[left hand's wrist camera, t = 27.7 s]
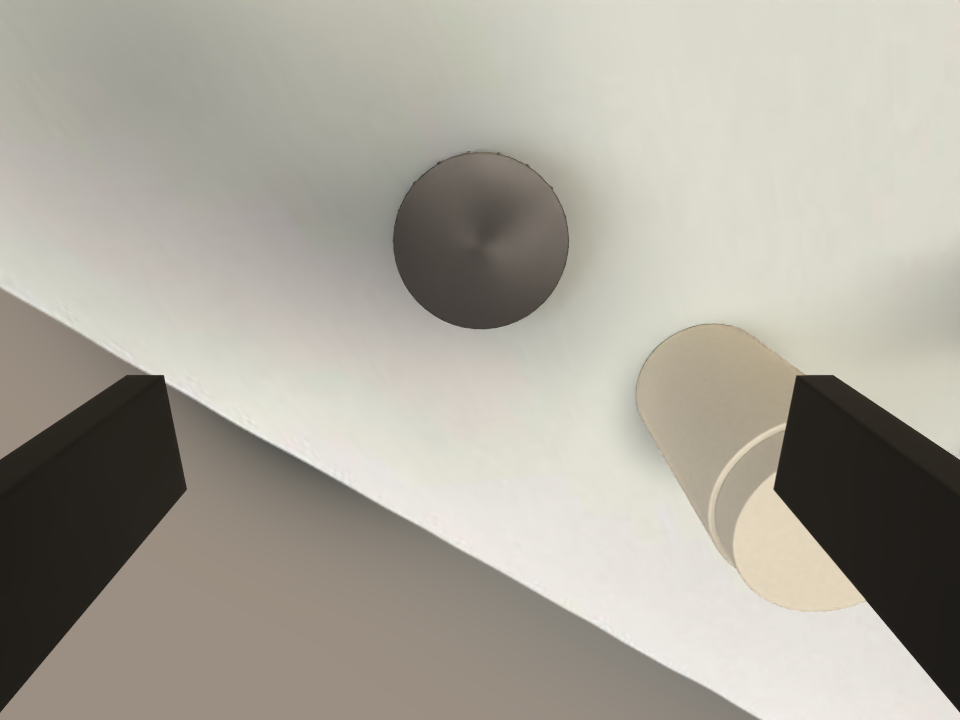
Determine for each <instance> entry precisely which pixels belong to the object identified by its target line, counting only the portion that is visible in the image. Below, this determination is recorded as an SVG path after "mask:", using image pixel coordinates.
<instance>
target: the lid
mask: <svg viewBox="0 0 960 720" xmlns="http://www.w3.org/2000/svg"><path fill="white" fill-rule="evenodd" d="M437 164H438V165H436V166H434V167H433V168H431V169H430V170H429V171H427V172H426V173H425V174H424V175H422V176H421V177H420V178H419V179H418V180H417V181H415V182H414V183H413V186H412V187H411V189H410V190H409V192H408V193H407V194H406V196H405V198H404V200H403V202H402V204H401V206H400V209H399V210H398V214H397V218H396V222H395V227H394V237H393V243H394V254H395V260H396V264H397V267H398V271H399V273H400V276H401V278H402V280H403V282H404V284H405V286H406V287H407V289H408V290H409V292H410V293H411V295H412V296H413V297H414V298H415V300H416V301H417V302H418V303H419V304H420V305H421V306H422V307H424V308H425V309H426V310H427V311H429V312H430V313H431V314H433V315H434V316H436V317H438V318H439V319H441V320H443V321H445V322H448V323H450V324H453V325H456V326H460V327H464V328H471V329H490V328H498V327H502V326H506V325H509V324H511V323H514V322H517V321H519V320H521V319H522V318H524V317H526V316H528V315H529V314H531V313H532V312H533V311H535V310H536V309H537V308H538V307H539V306H541V305H542V304H543V303H544V302H545V301H546V299H547V298H548V297H549V296H550V295H551V293H552V292H553V290H554V289H555V287H556V286H557V284H558V282H559V280H560V278H561V276H562V273H563V270H564V267H565V264H566V260H567V255H568V248H569V246H568V244H569V238H568V227H567V222H566V215H565V214H564V211H563V209H562V206H561V204H560V202H559V200H558V198H557V196H556V195H555V193H554V192H553V190H552V189H553V188H552V187H551V186H549V185H548V184H547V183H546V181H545V180H544V179H543V178H542V177H541V176H540V175H538V174H537V173H536V172H535V171H534V170H532V169H531V168H530V166H529V165H527V164H526V165H525V164H523V163H521V162H519V161H517V160H515V159H513V158H511V157H508V156H504V155H501V153H499V152H498V154H496V153H490V152H473V153H470V152H469V151H468V152H467V153H465V154H461V155H458V156H454V157H452V158H449V159H447V160H445V161H443V162H441V161H440V162H438V163H437Z"/></svg>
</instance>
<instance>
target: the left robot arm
mask: <svg viewBox="0 0 960 720" xmlns="http://www.w3.org/2000/svg"><path fill="white" fill-rule="evenodd" d="M186 490H187V488H186V483H185V478H184V473H183V468H182V463H181V458H180V453H179V448H178V443H177V438H176V434H175V428H174V423H173V419H172V414H171V409H170V404H169V399H168V394H167V389H166V384H165V379H164V375H126V376H125V377H124V378H122V379H120V380H119V381H117V382H116V383H115V384H113V385H111V386H110V387H108V388H107V389H105V390H104V391H102V392H101V393H99V394H98V395H96V396H95V397H94V398H92V399H90V400H89V401H87V402H86V403H85V404H83V405H82V406H80V407H79V408H77V409H76V410H74V411H73V412H71V413H70V414H68V415H67V416H65V417H64V418H62V419H61V420H59V421H58V422H56V423H55V424H53V425H52V426H50V427H49V428H47V429H46V430H44V431H43V432H41V433H40V434H38V435H37V436H35V437H34V438H32V439H31V440H29V441H28V442H26V443H25V444H23V445H22V446H20V447H19V448H17V449H16V450H14V451H13V452H11V453H10V454H8V455H7V456H5V457H4V458H2V459H1V460H0V712H1V711H2V710H3V708H4V707H5V706H6V705H7V704H8V702H9V701H10V700H11V699H12V698H13V697H14V695H15V694H16V693H17V692H18V691H19V689H20V688H21V687H22V686H23V685H24V683H25V682H26V681H27V680H28V678H29V677H30V676H31V675H32V674H33V673H34V671H35V670H36V669H37V668H38V667H39V665H40V664H41V663H42V662H43V661H44V659H45V658H46V657H47V656H48V655H49V653H50V652H51V651H52V650H53V649H54V648H55V646H56V645H57V644H58V643H59V641H60V640H61V639H62V638H63V637H64V635H65V634H66V633H67V632H68V631H69V630H70V628H71V627H72V626H73V625H74V624H75V622H76V621H77V620H78V619H79V618H80V616H81V615H82V614H83V613H84V612H85V611H86V609H87V608H88V607H89V606H90V605H91V603H92V602H93V601H94V600H95V599H96V597H97V596H98V595H99V594H100V593H101V591H102V590H103V589H104V588H105V587H106V585H107V584H108V583H109V582H110V581H111V579H112V578H113V577H114V576H115V575H116V573H117V572H118V571H119V570H120V569H121V568H122V566H123V565H124V564H125V563H126V562H127V560H128V559H129V558H130V557H131V556H132V554H133V553H134V552H135V551H136V550H137V548H138V547H139V546H140V545H141V544H142V542H143V541H144V540H145V539H146V538H147V536H148V535H149V534H150V533H151V532H152V530H153V529H154V528H155V527H156V526H157V525H158V523H159V522H160V521H161V520H162V519H163V517H164V516H165V515H166V514H167V513H168V511H169V510H170V509H171V508H172V507H173V505H174V504H175V503H176V502H177V501H178V499H179V498H180V497H181V496H182V495H183V493H184V492H185V491H186ZM773 490H774V491H775V492H776V493H777V495H778V496H779V497H780V498H781V499H782V501H783V502H784V503H785V504H786V505H787V507H788V508H789V509H790V510H791V511H792V513H793V514H794V515H795V516H796V517H797V519H798V520H799V521H800V522H801V523H802V525H803V526H804V527H805V528H806V529H807V530H808V532H809V533H810V534H811V535H812V536H813V538H814V539H815V540H816V541H817V542H818V544H819V545H820V546H821V547H822V548H823V550H824V551H825V552H826V553H827V554H828V556H829V557H830V558H831V559H832V560H833V562H834V563H835V564H836V565H837V566H838V568H839V569H840V570H841V571H842V572H843V573H844V575H845V576H846V577H847V578H848V579H849V581H850V582H851V583H852V584H853V585H854V587H855V588H856V589H857V590H858V591H859V593H860V594H861V595H862V596H863V597H864V599H865V600H866V601H867V602H868V603H869V605H870V606H871V607H872V608H873V609H874V611H875V612H876V613H877V614H878V615H879V616H880V618H881V619H882V620H883V621H884V622H885V624H886V625H887V626H888V627H889V628H890V630H891V631H892V632H893V633H894V634H895V636H896V637H897V638H898V639H899V640H900V642H901V643H902V644H903V645H904V646H905V648H906V649H907V650H908V651H909V652H910V654H911V655H912V656H913V657H914V658H915V659H916V661H917V662H918V663H919V664H920V665H921V667H922V668H923V669H924V670H925V671H926V673H927V674H928V675H929V676H930V677H931V679H932V680H933V681H934V682H935V683H936V685H937V686H938V687H939V688H940V689H941V691H942V692H943V693H944V694H945V695H946V697H947V698H948V699H949V700H950V701H951V702H952V704H953V705H954V706H955V707H956V708H957V710H958V711H959V712H960V460H959V459H958V458H956V457H955V456H953V455H952V454H950V453H949V452H947V451H946V450H944V449H943V448H941V447H940V446H938V445H937V444H935V443H934V442H932V441H931V440H929V439H928V438H926V437H925V436H923V435H922V434H920V433H919V432H917V431H916V430H914V429H913V428H911V427H910V426H908V425H907V424H905V423H904V422H902V421H901V420H899V419H898V418H896V417H895V416H893V415H892V414H890V413H889V412H887V411H886V410H884V409H883V408H881V407H880V406H878V405H877V404H876V403H874V402H873V401H871V400H870V399H868V398H867V397H865V396H864V395H862V394H861V393H859V392H858V391H856V390H855V389H853V388H852V387H850V386H849V385H847V384H846V383H844V382H843V381H841V380H840V379H838V378H837V377H835V376H834V375H796V379H795V384H794V389H793V394H792V399H791V404H790V409H789V414H788V418H787V423H786V428H785V433H784V438H783V443H782V448H781V453H780V458H779V463H778V468H777V473H776V478H775V483H774V488H773Z"/></svg>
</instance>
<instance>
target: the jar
mask: <svg viewBox="0 0 960 720" xmlns="http://www.w3.org/2000/svg"><path fill="white" fill-rule="evenodd" d="M796 375H805V374H804V373H802V372H801V371H799V370H798V369H797V368H795V367H794V366H793V365H791V364H790V363H788V362H787V361H786V360H784V359H783V358H781V357H780V356H779V355H777V354H776V353H775V352H773V351H772V350H770V349H769V348H768V347H766V346H765V345H764V344H762V343H761V342H759V341H758V340H757V339H755V338H754V337H752V336H751V335H750V334H748V333H747V332H745V331H742V330H740V329H738V328H735V327H732V326H727V325H721V324H706V325H700V326H694V327H691V328H688V329H685V330H683V331H681V332H678V333H676V334H675V335H673V336H671V337H670V338H668V339H667V340H665V341H664V342H663V343H662V344H660V345H659V346H658V347H657V348H656V349H655V350H654V351H653V353H652V354H651V355H650V356H649V358H648V359H647V361H646V363H645V364H644V366H643V368H642V370H641V372H640V375H639V379H638V382H637V388H636V401H637V407H638V411H639V414H640V416H641V418H642V420H643V422H644V424H645V425H646V427H647V429H648V431H649V432H650V434H651V436H652V438H653V439H654V441H655V443H656V445H657V446H658V448H659V450H660V451H661V453H662V455H663V457H664V458H665V460H666V462H667V464H668V465H669V467H670V469H671V470H672V472H673V474H674V476H675V477H676V479H677V481H678V483H679V484H680V486H681V488H682V489H683V491H684V493H685V495H686V496H687V498H688V500H689V502H690V503H691V505H692V507H693V508H694V510H695V512H696V514H697V515H698V517H699V519H700V521H701V522H702V524H703V526H704V528H705V529H706V531H707V533H708V534H709V536H710V538H711V540H712V541H713V543H714V545H715V546H716V548H717V549H718V551H719V553H720V554H721V555H722V556H723V557H724V558H725V560H726V561H727V562H728V563H730V564H731V565H732V566H733V567H735V568H736V569H737V571H738V573H739V574H740V576H741V577H742V579H743V580H744V582H745V583H746V584H747V585H748V586H749V587H750V588H751V590H753V591H754V592H755V593H756V594H758V595H759V596H760V597H762V598H764V599H765V600H767V601H769V602H771V603H773V604H775V605H778V606H780V607H784V608H788V609H791V610H798V611H807V612H821V611H831V610H838V609H843V608H846V607H850V606H854V605H857V604H859V603H862V602H865V601H866V600H865V599H864V597H863V596H862V595H861V594H860V593H859V591H858V590H857V589H856V588H855V587H854V585H853V584H852V583H851V582H850V581H849V579H848V578H847V577H846V576H845V575H844V573H843V572H842V571H841V570H840V569H839V568H838V566H837V565H836V564H835V563H834V562H833V560H832V559H831V558H830V557H829V556H828V554H827V553H826V552H825V551H824V550H823V548H822V547H821V546H820V545H819V544H818V542H817V541H816V540H815V539H814V538H813V536H812V535H811V534H810V533H809V532H808V530H807V529H806V528H805V527H804V526H803V525H802V523H801V522H800V521H799V520H798V519H797V517H796V516H795V515H794V514H793V513H792V511H791V510H790V509H789V508H788V507H787V505H786V504H785V503H784V502H783V501H782V499H781V498H780V497H779V496H778V495H777V493H776V492H775V491H774V490H773V488H774V483H775V478H776V473H777V468H778V463H779V458H780V453H781V448H782V443H783V438H784V433H785V428H786V423H787V418H788V414H789V409H790V404H791V399H792V394H793V389H794V384H795V379H796Z"/></svg>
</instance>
